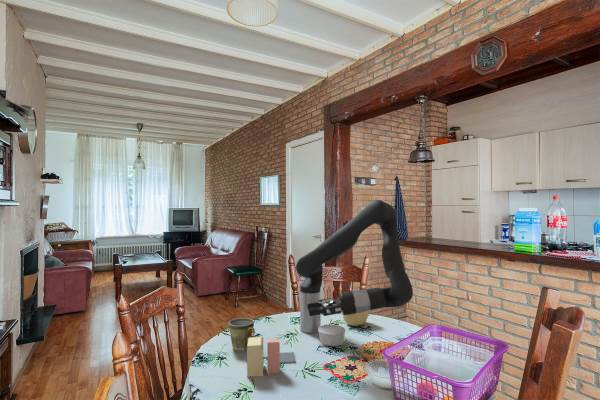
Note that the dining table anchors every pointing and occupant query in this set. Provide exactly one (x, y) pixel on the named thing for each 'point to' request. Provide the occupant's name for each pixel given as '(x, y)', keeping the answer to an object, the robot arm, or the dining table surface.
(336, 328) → the ramekin
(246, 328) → the ceramic cup
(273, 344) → the stub
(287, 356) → the felt pad
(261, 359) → the block
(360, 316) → the round fruit
